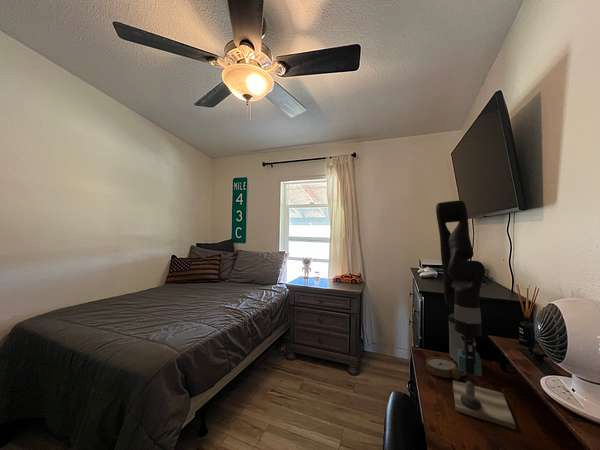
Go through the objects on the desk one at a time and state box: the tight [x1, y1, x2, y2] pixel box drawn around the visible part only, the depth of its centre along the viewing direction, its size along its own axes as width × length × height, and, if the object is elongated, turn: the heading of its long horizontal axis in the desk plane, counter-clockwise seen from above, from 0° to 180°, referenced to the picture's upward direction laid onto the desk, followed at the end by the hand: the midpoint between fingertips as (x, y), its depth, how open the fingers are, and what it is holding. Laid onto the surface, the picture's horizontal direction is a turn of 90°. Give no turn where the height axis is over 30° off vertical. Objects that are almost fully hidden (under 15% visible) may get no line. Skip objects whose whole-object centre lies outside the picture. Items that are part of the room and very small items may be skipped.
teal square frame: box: [458, 349, 483, 377], centre depth 79 cm, size 6×6×5 cm
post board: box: [452, 379, 517, 430], centre depth 81 cm, size 16×15×8 cm
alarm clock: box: [424, 356, 468, 381], centre depth 99 cm, size 11×5×15 cm
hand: (469, 368), depth 79 cm, fingers closed on teal square frame, 6 cm apart
